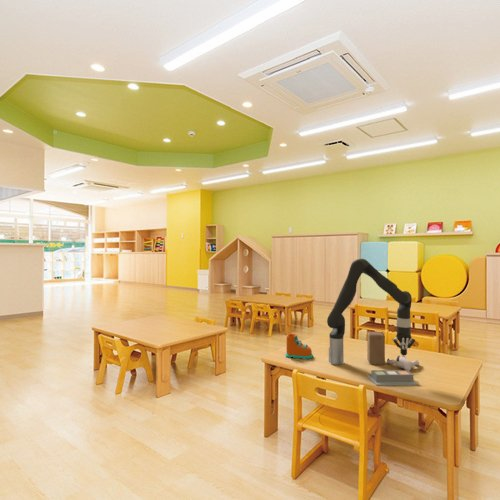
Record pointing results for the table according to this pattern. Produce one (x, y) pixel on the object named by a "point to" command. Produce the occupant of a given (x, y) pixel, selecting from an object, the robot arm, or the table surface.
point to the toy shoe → (297, 348)
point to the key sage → (379, 372)
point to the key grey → (391, 372)
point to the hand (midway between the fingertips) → (403, 355)
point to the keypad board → (392, 378)
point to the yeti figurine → (403, 363)
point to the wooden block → (376, 348)
